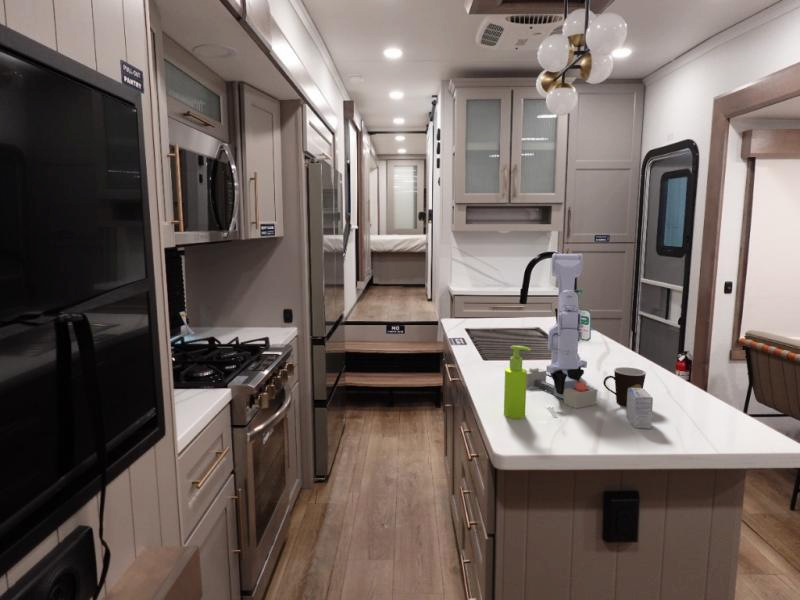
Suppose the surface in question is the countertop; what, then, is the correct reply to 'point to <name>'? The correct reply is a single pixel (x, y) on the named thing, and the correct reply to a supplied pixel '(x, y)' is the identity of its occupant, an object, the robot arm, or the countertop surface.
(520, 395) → the soap dispenser
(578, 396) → the cabinet
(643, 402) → the medicine box
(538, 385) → the rail
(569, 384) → the carriage
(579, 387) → the red rounded piece
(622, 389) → the coffee mug
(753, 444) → the countertop surface
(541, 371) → the cabinet
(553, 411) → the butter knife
